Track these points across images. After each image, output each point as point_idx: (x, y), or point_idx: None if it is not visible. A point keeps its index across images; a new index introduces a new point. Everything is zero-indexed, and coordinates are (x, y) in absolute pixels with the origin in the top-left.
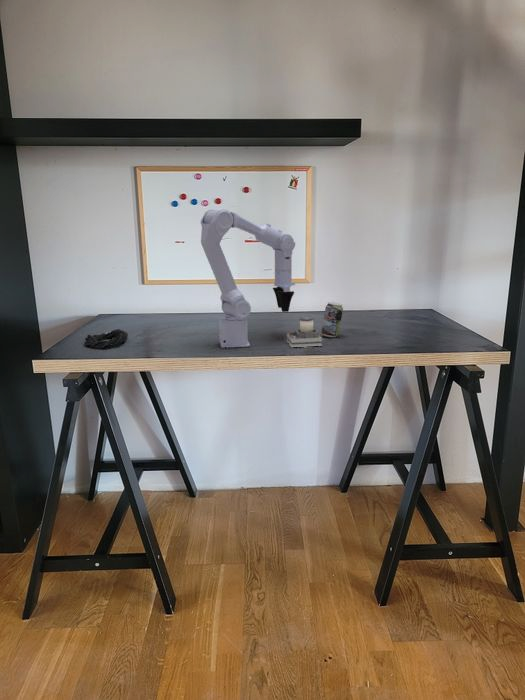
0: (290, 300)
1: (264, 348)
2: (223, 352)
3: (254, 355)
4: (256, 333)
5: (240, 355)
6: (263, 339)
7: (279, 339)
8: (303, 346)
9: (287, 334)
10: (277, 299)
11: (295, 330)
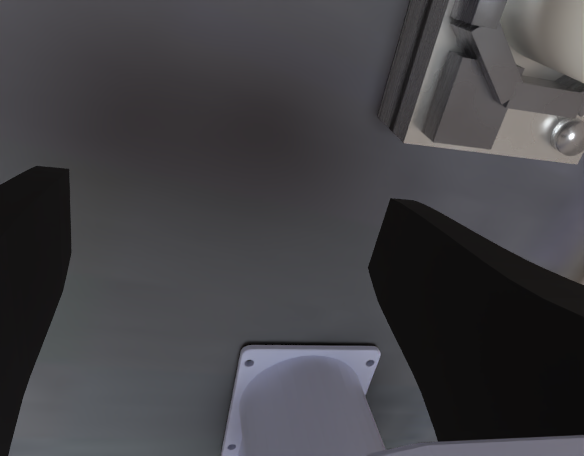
0: (561, 284)
1: None
2: (410, 441)
3: None
4: None
5: None
6: (229, 250)
7: (271, 144)
8: None
9: (426, 145)
10: (29, 365)
11: (506, 101)
